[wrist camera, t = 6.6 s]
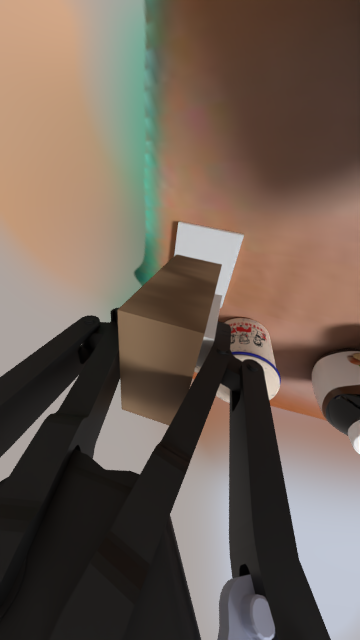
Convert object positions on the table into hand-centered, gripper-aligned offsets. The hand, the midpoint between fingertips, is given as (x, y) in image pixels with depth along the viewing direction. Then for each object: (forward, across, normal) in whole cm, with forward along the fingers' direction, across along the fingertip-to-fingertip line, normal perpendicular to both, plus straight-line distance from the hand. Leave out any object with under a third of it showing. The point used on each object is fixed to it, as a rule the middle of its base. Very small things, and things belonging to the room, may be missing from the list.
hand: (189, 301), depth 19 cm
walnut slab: (0, 0, 0) cm, 0 cm away
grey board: (+10, 0, 0) cm, 10 cm away
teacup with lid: (+11, +7, -11) cm, 16 cm away
